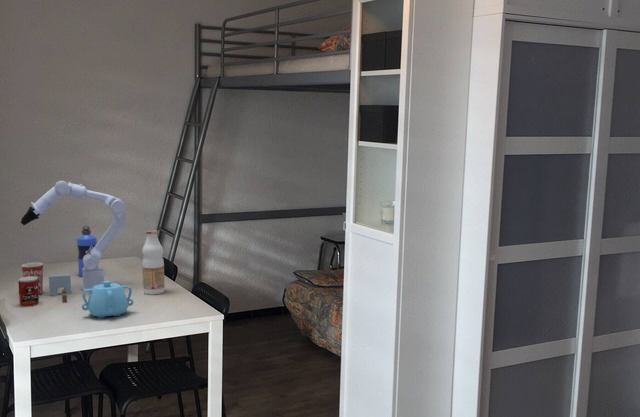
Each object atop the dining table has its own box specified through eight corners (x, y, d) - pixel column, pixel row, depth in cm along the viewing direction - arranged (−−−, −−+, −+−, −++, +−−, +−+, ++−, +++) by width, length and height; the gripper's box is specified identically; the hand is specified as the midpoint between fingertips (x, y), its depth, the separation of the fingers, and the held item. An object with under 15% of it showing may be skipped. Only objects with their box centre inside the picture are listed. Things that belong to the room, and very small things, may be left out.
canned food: (20, 307, 301) (19, 281, 300) (18, 302, 308) (17, 277, 307) (40, 304, 304) (38, 279, 303) (38, 300, 311) (36, 275, 310)
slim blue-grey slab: (71, 292, 325) (70, 274, 324) (71, 293, 323) (70, 275, 322) (49, 294, 322) (48, 275, 321) (49, 295, 320) (48, 276, 319)
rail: (66, 295, 319) (65, 289, 319) (66, 302, 308) (66, 295, 308) (62, 296, 319) (62, 289, 319) (62, 302, 308) (62, 295, 307)
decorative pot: (108, 322, 278) (106, 288, 277) (78, 316, 286) (76, 283, 284) (137, 312, 293) (136, 279, 291) (108, 307, 300) (107, 275, 298)
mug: (44, 295, 320) (42, 265, 318) (22, 297, 317) (20, 267, 315) (45, 289, 332) (44, 260, 330) (24, 290, 329) (23, 261, 327)
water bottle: (102, 274, 361) (99, 225, 358) (87, 278, 353) (84, 227, 350) (89, 272, 366) (87, 223, 363) (74, 276, 358) (72, 226, 355)
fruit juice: (141, 295, 320) (139, 232, 316) (145, 289, 329) (143, 229, 326) (162, 294, 320) (160, 232, 317) (166, 289, 330) (164, 229, 326)
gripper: (39, 193, 327) (16, 213, 324) (39, 196, 313) (14, 218, 311) (51, 204, 329) (28, 225, 327) (51, 208, 316) (27, 229, 313)
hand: (22, 222), depth 319 cm, fingers open, 7 cm apart
